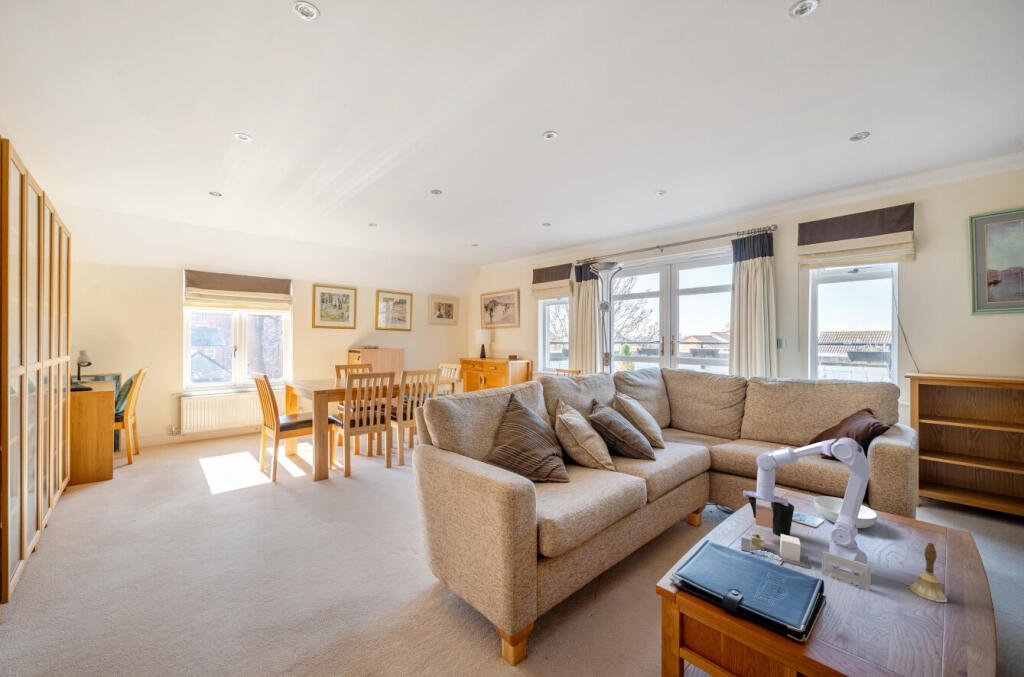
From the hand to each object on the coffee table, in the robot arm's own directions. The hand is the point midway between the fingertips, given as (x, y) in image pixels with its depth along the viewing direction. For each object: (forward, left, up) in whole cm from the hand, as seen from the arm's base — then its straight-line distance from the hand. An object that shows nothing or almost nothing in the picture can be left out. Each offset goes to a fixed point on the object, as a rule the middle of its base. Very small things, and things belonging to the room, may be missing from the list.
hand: (763, 519), depth 152 cm
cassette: (-27, -4, -8) cm, 29 cm away
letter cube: (-5, +8, -7) cm, 12 cm away
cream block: (-12, +1, -7) cm, 14 cm away
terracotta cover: (0, 0, -2) cm, 2 cm away
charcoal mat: (-9, +4, -8) cm, 12 cm away
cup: (+2, -11, -8) cm, 14 cm away
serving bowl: (+5, -48, -8) cm, 49 cm away
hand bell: (-37, -24, -8) cm, 45 cm away
